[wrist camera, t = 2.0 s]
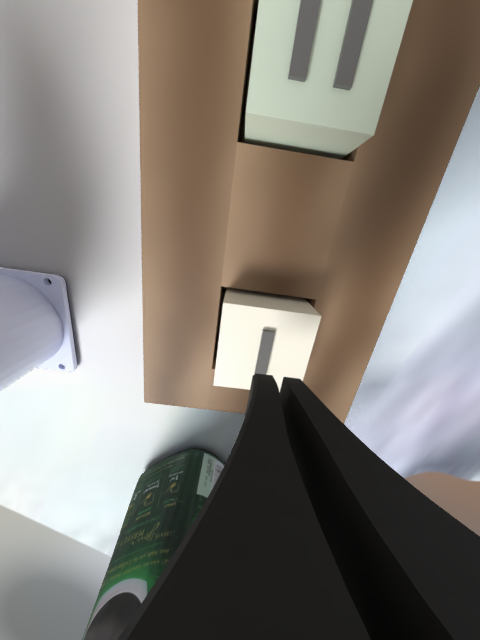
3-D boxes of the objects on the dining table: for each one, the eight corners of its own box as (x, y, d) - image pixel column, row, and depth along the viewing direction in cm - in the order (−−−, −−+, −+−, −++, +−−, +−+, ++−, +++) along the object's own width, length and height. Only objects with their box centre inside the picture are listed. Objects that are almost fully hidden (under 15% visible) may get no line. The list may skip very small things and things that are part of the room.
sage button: (244, 145, 11) (245, 109, 8) (261, 8, 9) (271, -110, 6) (338, 161, 11) (377, 132, 8) (371, 30, 10) (436, -73, 6)
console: (163, 369, 19) (144, 402, 15) (172, -68, 10) (134, -234, 7) (324, 388, 20) (343, 424, 16) (456, -7, 11) (565, -128, 7)
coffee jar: (176, 510, 26) (50, 1060, 9) (129, 470, 24) (-172, 1119, 6) (248, 480, 24) (266, 1108, 7) (204, 433, 22) (63, 1219, 4)
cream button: (218, 355, 15) (212, 387, 12) (227, 286, 14) (222, 303, 11) (287, 363, 16) (299, 397, 12) (303, 297, 14) (322, 317, 11)
